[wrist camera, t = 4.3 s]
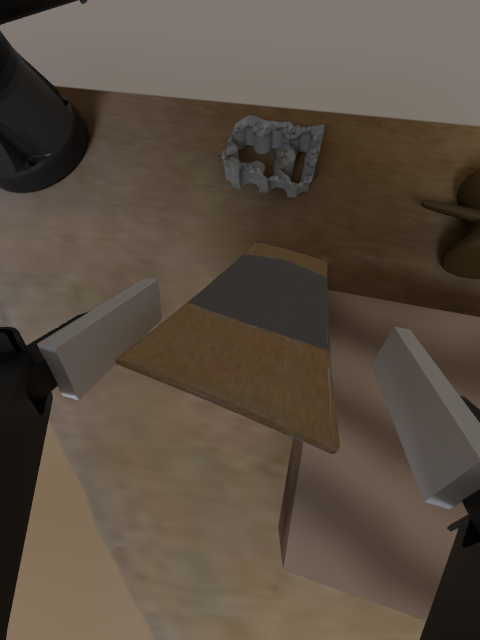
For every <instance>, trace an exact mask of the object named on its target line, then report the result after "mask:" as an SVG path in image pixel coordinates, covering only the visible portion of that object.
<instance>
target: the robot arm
mask: <svg viewBox="0 0 480 640" xmlns="http://www.w3.org/2000/svg"><path fill="white" fill-rule="evenodd" d="M74 1H77V0H0V25H1V24H4V23H7V22H11V21H13V20H17V19H20V18H23V17H26V16H30V15H33V14H36V13H39V12H42V11H46V10H49V9H52V8H55V7H58V6H62V5H65V4H68V3H71V2H74ZM80 2H81V3H82V4H84V3H86V2H87V0H80ZM87 141H88V130H87V126H86V124H85V122H84V120H83V119H82V117H81V116H80V114H79V113H78V112H77V110H76V109H75V107H74V106H73V105H72V103H71V102H70V101H69V100H68V99H67V98H66V97H65V96H64V95H63V94H62V93H60V92H59V91H58V90H57V89H56V88H55V87H54V86H53V85H52V84H51V83H50V82H49V81H48V80H47V79H46V78H45V77H43V76H42V75H41V74H40V73H39V72H38V71H37V70H36V69H35V68H34V67H33V66H31V65H30V64H29V63H28V62H27V61H26V60H25V59H24V58H23V57H22V56H21V55H20V54H19V53H18V52H17V51H15V49H14V48H13V47H12V46H11V44H10V43H9V42H8V41H7V39H6V38H5V37H4V35H3V34H2V33H1V31H0V188H2V189H4V190H6V191H10V192H16V193H26V192H33V191H37V190H40V189H43V188H46V187H48V186H50V185H52V184H54V183H56V182H57V181H59V180H61V179H62V178H63V177H65V176H66V175H67V174H68V173H69V172H70V171H71V170H72V169H73V168H74V167H75V166H76V165H77V163H78V162H79V161H80V159H81V157H82V156H83V154H84V151H85V149H86V146H87ZM161 319H162V314H161V304H160V295H159V285H158V280H157V279H152V278H147V277H146V278H144V279H143V280H141V281H139V282H138V283H136V284H134V285H133V286H131V287H129V288H128V289H126V290H125V291H123V292H121V293H120V294H118V295H116V296H115V297H113V298H111V299H110V300H108V301H106V302H105V303H103V304H102V305H100V306H98V307H97V308H95V309H93V310H92V311H90V312H86V313H84V314H81V315H78V316H76V317H74V318H72V319H71V320H69V321H67V323H64V324H62V325H61V326H59V328H56V329H54V330H52V331H50V332H49V333H47V334H45V335H44V336H42V337H40V338H39V339H37V340H35V341H34V342H32V343H30V344H29V345H27V346H26V344H25V342H24V341H23V339H22V337H21V335H20V333H19V331H18V330H17V329H15V328H12V327H0V640H6V635H7V628H8V622H9V617H10V613H11V608H12V603H13V597H14V592H15V587H16V582H17V577H18V572H19V567H20V562H21V557H22V552H23V547H24V542H25V537H26V531H27V527H28V522H29V516H30V511H31V506H32V501H33V496H34V491H35V486H36V481H37V476H38V471H39V466H40V461H41V456H42V450H43V445H44V440H45V435H46V430H47V425H48V420H49V415H50V410H51V405H52V400H53V396H52V393H51V391H52V390H53V389H54V388H56V387H57V386H58V387H59V389H60V391H61V393H62V395H63V396H66V397H69V398H73V399H76V400H79V399H80V398H81V397H82V396H83V395H84V394H85V393H87V392H88V391H89V390H90V389H91V388H92V387H93V386H94V385H95V384H96V383H97V382H98V381H99V380H100V379H101V378H102V377H103V376H104V375H105V374H106V373H107V372H108V371H109V370H110V369H111V368H112V367H113V366H114V365H115V364H116V363H115V360H116V359H117V358H118V357H119V356H120V355H121V354H123V353H124V352H125V351H127V350H128V349H129V348H131V347H132V346H133V345H135V344H136V343H137V342H138V341H140V340H141V339H142V338H143V337H144V336H145V335H146V334H147V333H148V332H149V331H150V330H151V329H152V328H153V327H154V326H155V325H156V324H157V323H158V322H159V321H160V320H161ZM371 366H372V368H373V371H374V374H375V376H376V379H377V381H378V384H379V387H380V389H381V392H382V394H383V397H384V400H385V402H386V405H387V407H388V410H389V412H390V415H391V418H392V420H393V423H394V425H395V428H396V431H397V433H398V436H399V438H400V441H401V444H402V446H403V449H404V451H405V454H406V456H407V459H408V462H409V464H410V467H411V469H412V472H413V475H414V477H415V480H416V482H417V485H418V488H419V490H420V493H421V495H422V498H423V500H424V502H426V503H429V504H433V505H436V506H440V507H443V508H446V509H451V508H453V507H454V506H456V505H457V504H459V503H461V502H462V503H463V505H464V507H465V509H466V511H467V513H468V515H466V516H464V517H463V518H461V519H459V520H457V521H455V522H454V523H452V524H450V525H449V526H448V527H447V529H448V530H449V531H450V532H452V531H453V530H455V529H458V531H457V534H456V537H455V540H454V543H453V546H452V549H451V551H450V554H449V557H448V560H447V563H446V566H445V569H444V572H443V574H442V577H441V580H440V583H439V586H438V589H437V592H436V594H435V597H434V600H433V603H432V606H431V609H430V612H429V615H428V617H427V620H426V623H425V626H424V629H423V632H422V635H421V638H420V640H480V409H479V408H477V407H476V406H475V405H474V404H473V403H471V402H470V401H469V400H468V399H467V398H466V397H463V396H459V394H458V393H457V392H456V390H455V389H454V388H453V386H452V385H451V384H450V382H449V381H448V380H447V378H446V377H445V376H444V374H443V373H442V372H441V370H440V369H439V368H438V366H437V365H436V364H435V362H434V361H433V360H432V358H431V357H430V356H429V354H428V353H427V352H426V350H425V349H424V347H423V346H422V345H421V343H420V342H419V341H418V339H417V338H416V337H415V335H414V334H413V333H412V331H411V330H410V329H405V328H400V327H395V326H394V327H393V329H392V331H391V332H390V334H389V336H388V338H387V339H386V341H385V343H384V345H383V346H382V348H381V350H380V351H379V353H378V355H377V357H376V358H375V360H374V362H373V364H372V365H371Z"/></svg>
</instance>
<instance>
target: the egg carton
mask: <svg viewBox="0 0 480 640" xmlns="http://www.w3.org/2000/svg"><path fill="white" fill-rule="evenodd" d="M323 134H324V125H323V124H322V125H317V126H307V127H301V126H300V125H299V124H298V125H297V126H296V127H295V126H293V125H292V123H291V122H290V121H287V122H278V121H267V120H264V119H261V118H259V117H256V116H247V117H245V118H243V119H242V120H240V121H238V122H237V123H236V124H235V126H234V128H233V129H232V134H231V137H230V139H228V145H227V150H226V152H225V150H223V152H222V155H220V156H219V161H220V160H221V159H222V160H223V161H224V162H223V164H224V171H225V177H226V179H227V180H229V181H230V182H231V183H232V186H233V188H236V189H241V188H242V187H243V186H244V185H245V184H249V183H253V184H255V185H257V186H258V188H259V192H267V193H268V192H269V191H270V190H271V189H272V188H276V187H280V188H283V189H284V190H285V191H286V193H287V196H288V197H292V198H295V197H297V195H298V194H299V193H301V192H305V191H308V189H309V185H310V183H311V182H312V178H313V176H314V172H315V165H316V162H317V159H318V154H319V151H320V146H321V144H322V139H323ZM246 145H252V146H253V148H254V151H255V152H256V153H258V154H266V153H268V152H269V151H270V150H271V149H272V148H277V150H276V151H275V162H274V175H273V176H270V177H269V178H266V177H265V176H264V175H263V173H264V172H265V169H266V167H265V164H264V163H263V162H261V161H258V160H256V161H252V162H251V163H250V162H248V163H243V162H241V161H239V154H238V151H240V150H242V149H243V148H244V147H245V146H246ZM299 152H307V154H306V155H305V161H304V166H303V171H302V178H301V180H300V182H299V184H298V183H292V182H291V179H289V178H290V177H291V176H292V175H293V171H294V165H295V159H296V155H297V154H298V153H299Z"/></svg>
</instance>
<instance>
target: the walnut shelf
mask: <svg viewBox="0 0 480 640" xmlns="http://www.w3.org/2000/svg"><path fill="white" fill-rule="evenodd" d="M328 306H329V334H330V354H331V363H332V373H333V382H334V391H335V401H336V410H337V420H338V429H339V439H340V447H339V450H338V451H337V452H336V453H335V454H330V453H328V452H325V451H323V450H321V449H319V448H316V447H314V446H312V445H309V444H307V443H305V442H302V441H300V440H298V439H296V438H293V443H292V449H291V455H290V461H289V466H288V472H287V478H286V484H285V490H284V496H283V502H282V508H281V514H280V520H279V525H278V529H279V538H280V546H281V555H282V564H283V570H286V571H289V572H292V573H295V574H297V575H300V576H303V577H306V578H308V579H311V580H314V581H317V582H320V583H322V584H325V585H328V586H331V587H334V588H336V589H339V590H342V591H345V592H348V593H350V594H353V595H356V596H359V597H362V598H364V599H367V600H370V601H373V602H376V603H378V604H381V605H384V606H387V607H390V608H392V609H395V610H398V611H401V612H404V613H406V614H409V615H412V616H415V617H418V618H420V619H423V620H427V617H428V615H429V612H430V609H431V606H432V603H433V600H434V597H435V594H436V592H437V589H438V586H439V583H440V580H441V577H442V574H443V572H444V569H445V566H446V563H447V560H448V557H449V554H450V551H451V549H452V546H453V543H454V540H455V537H456V534H457V531H458V529H455V530H453V531H452V532H450V531H449V530H448V529H447V527H448V526H449V525H450V524H452V523H454V522H455V521H457V520H459V519H461V518H463V517H464V516H466V515H468V513H467V511H466V509H465V507H464V505H463V503H462V502H461V503H459V504H457V505H456V506H454V507H453V508H451V509H446V508H443V507H440V506H436V505H433V504H429V503H426V502H424V500H423V498H422V495H421V493H420V490H419V488H418V485H417V482H416V480H415V477H414V475H413V472H412V469H411V467H410V464H409V462H408V459H407V456H406V454H405V451H404V449H403V446H402V444H401V441H400V438H399V436H398V433H397V431H396V428H395V425H394V423H393V420H392V418H391V415H390V412H389V410H388V407H387V405H386V402H385V400H384V397H383V394H382V392H381V389H380V387H379V384H378V381H377V379H376V376H375V374H374V371H373V368H372V366H371V365H372V364H373V362H374V360H375V358H376V357H377V355H378V353H379V351H380V350H381V348H382V346H383V345H384V343H385V341H386V339H387V338H388V336H389V334H390V332H391V331H392V329H393V327H394V326H395V327H400V328H405V329H410V330H411V331H412V333H413V334H414V335H415V337H416V338H417V339H418V341H419V342H420V343H421V345H422V346H423V347H424V349H425V350H426V352H427V353H428V354H429V356H430V357H431V358H432V360H433V361H434V362H435V364H436V365H437V366H438V368H439V369H440V370H441V372H442V373H443V374H444V376H445V377H446V378H447V380H448V381H449V382H450V384H451V385H452V386H453V388H454V389H455V390H456V392H457V393H458V394H459V396H463V397H466V398H467V399H468V400H469V401H470V402H471V403H473V404H474V405H475V406H476V407H477V408H479V409H480V317H476V316H470V315H465V314H459V313H454V312H448V311H443V310H437V309H432V308H426V307H421V306H415V305H410V304H404V303H399V302H393V301H387V300H382V299H376V298H371V297H365V296H360V295H354V294H349V293H343V292H338V291H332V290H328Z"/></svg>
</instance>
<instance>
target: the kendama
mask: <svg viewBox="0 0 480 640" xmlns="http://www.w3.org/2000/svg"><path fill="white" fill-rule="evenodd" d="M457 200H458V201H459V202H460V204H461V205H462V206H458V205H453V204H448V203H444V202H438V201H431V200H424V201H422V202H421V206H423V207H425V208H427V209H430V210H433V211H436V212H439V213H442V214H446V215H449V216H453V217H456V218H459V219H463V220H466V221H469V228H468V232H467V234H466V237H465V238H464V239H463V240H461V241H460V242H459V243H457V244H456V245H455V246H454V247H453V248H452V249H450V250H449V251H448V252H447V253H446V254H445V255H444V256H443V259H442V262H441V266H442V267H443V268H444V269H445V270H446V271H447V272H449V273H452V274H454V275H457V276H460V277H466V278H471V279H480V168H479V169H478V170H476V171H475V172H473V173H472V174H471V175H469V176H468V177H467V178H466V180H465V181H464V182H463V183H462V184H461V185H460V187H459V189H458V193H457Z"/></svg>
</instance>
